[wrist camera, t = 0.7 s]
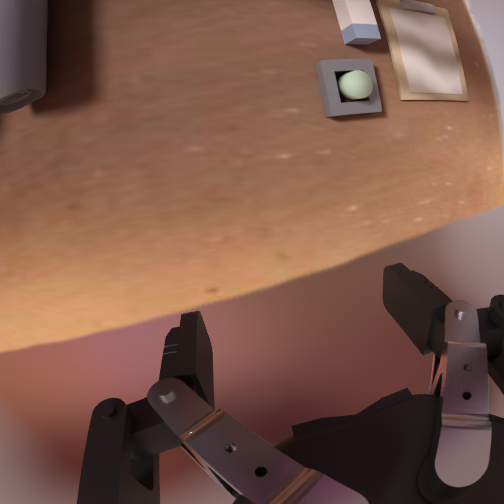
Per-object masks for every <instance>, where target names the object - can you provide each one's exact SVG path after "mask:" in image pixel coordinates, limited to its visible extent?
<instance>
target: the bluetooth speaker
mask: <svg viewBox="0 0 504 504" xmlns="http://www.w3.org/2000/svg"><path fill="white" fill-rule="evenodd" d="M48 6H49V5H48V0H0V114H4V113H8V112H12V111H15V110H18V109H20V108H22V107H24V106H26V105H28V104H29V103H31V102H33V101H36V100H38V99H40V98H42V97H43V96H44V95H45V93H46V53H47V27H48Z"/></svg>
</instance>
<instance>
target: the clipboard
mask: <svg viewBox="0 0 504 504" xmlns="http://www.w3.org/2000/svg"><path fill="white" fill-rule="evenodd" d="M375 1H376V4H377V7H378V10H379V14H380V17H381V20H382V23H383V27H384V30H385V34H386V38H387V41H388V45H389V49H390V53H391V57H392V62H393V66H394V71H395V75H396V80H397V85H398V91H399V96H400V100H456V101H469V100H468V93H467V87H466V82H465V76H464V71H463V67H462V62H461V58H460V53H459V49H458V45H457V41H456V38H455V34H454V30H453V27H452V24H451V20H450V17H449V14H448V11H447V9H444V8H440V7H436V6H433V5H432V4H428V3H423V2H419V1H414V0H375Z"/></svg>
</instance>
